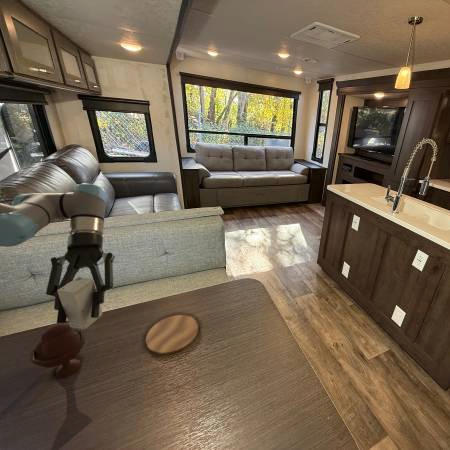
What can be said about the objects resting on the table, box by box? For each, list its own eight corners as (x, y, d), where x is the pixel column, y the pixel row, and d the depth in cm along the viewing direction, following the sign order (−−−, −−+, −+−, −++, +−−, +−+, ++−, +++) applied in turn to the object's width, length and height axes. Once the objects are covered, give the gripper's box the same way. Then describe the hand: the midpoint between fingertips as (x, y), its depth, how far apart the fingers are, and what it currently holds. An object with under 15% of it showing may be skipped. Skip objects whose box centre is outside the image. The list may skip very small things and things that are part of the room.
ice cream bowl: (33, 375, 68) (13, 335, 62) (81, 346, 77) (68, 309, 72) (52, 395, 64) (32, 355, 58) (100, 362, 73) (88, 324, 67)
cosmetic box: (85, 330, 65) (72, 293, 60) (69, 327, 65) (55, 290, 60) (104, 313, 70) (94, 278, 66) (89, 311, 71) (78, 276, 66)
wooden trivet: (134, 351, 78) (134, 349, 77) (164, 314, 92) (163, 312, 92) (184, 357, 77) (184, 355, 77) (205, 319, 92) (205, 318, 91)
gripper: (129, 236, 77) (126, 313, 70) (50, 242, 70) (38, 327, 63) (121, 228, 71) (118, 312, 63) (34, 233, 64) (18, 328, 57)
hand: (78, 319), depth 63 cm, fingers closed on cosmetic box, 6 cm apart
